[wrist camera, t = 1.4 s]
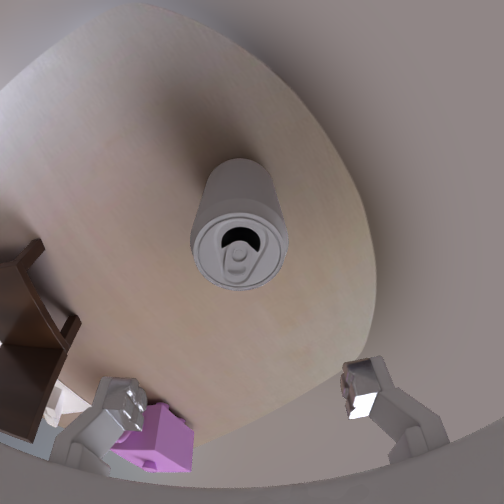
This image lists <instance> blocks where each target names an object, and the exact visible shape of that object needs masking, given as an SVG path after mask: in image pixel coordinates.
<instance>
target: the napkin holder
mask: <svg viewBox="0 0 504 504" xmlns="http://www.w3.org/2000/svg"><path fill="white" fill-rule="evenodd" d="M88 407H92V406H91V405H90V404H89V403H87V402H86V401H85V400H83V399H82V398H81V397H79V396H78V395H77V394H75V393H74V392H73V391H71V390H70V389H69V388H68V387H66V386H65V385H64V384H63V383H61V382H60V381H59V380H58V379H57V381H56V383H55V385H54V388H53V390H52V393H51V395H50V398H49V400H48V403H47V406H46V408H45V411H44V416H45V418H46V421H47V423H48V424H49V425H51V426H54V427H56V428H57V425H58V422H59V419H60V416H61V414H64V415H65V414H69V413H76V412H83V411H85V410H86V409H87V408H88Z"/></svg>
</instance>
